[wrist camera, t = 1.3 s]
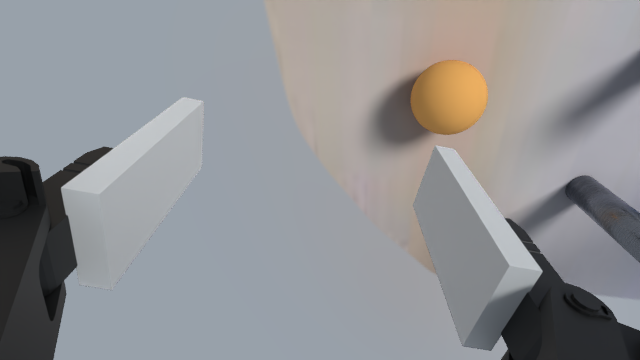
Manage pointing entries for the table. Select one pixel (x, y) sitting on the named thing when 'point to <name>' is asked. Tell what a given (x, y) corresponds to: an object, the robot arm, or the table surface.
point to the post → (607, 212)
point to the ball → (449, 97)
